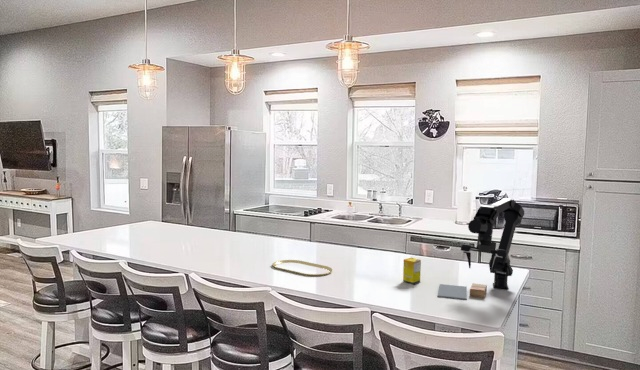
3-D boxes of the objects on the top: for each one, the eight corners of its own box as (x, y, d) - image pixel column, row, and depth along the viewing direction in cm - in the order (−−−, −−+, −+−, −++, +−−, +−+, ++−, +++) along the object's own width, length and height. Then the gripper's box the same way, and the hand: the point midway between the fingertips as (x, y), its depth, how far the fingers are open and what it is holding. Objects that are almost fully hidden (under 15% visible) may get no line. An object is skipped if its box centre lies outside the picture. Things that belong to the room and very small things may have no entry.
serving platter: (316, 279, 228) (316, 276, 228) (265, 267, 249) (265, 264, 249) (339, 271, 242) (339, 268, 242) (288, 261, 264) (288, 258, 264)
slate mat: (439, 285, 220) (439, 284, 220) (466, 287, 216) (466, 286, 216) (437, 296, 202) (437, 295, 202) (466, 299, 199) (466, 298, 199)
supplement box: (410, 279, 229) (411, 257, 228) (420, 282, 224) (421, 259, 223) (402, 281, 225) (403, 259, 224) (412, 284, 220) (413, 261, 219)
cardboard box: (472, 290, 213) (472, 282, 213) (486, 292, 210) (486, 284, 210) (469, 297, 204) (469, 288, 204) (484, 299, 201) (484, 290, 201)
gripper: (463, 231, 200) (458, 268, 199) (510, 238, 195) (505, 276, 194) (462, 231, 211) (458, 265, 210) (507, 237, 205) (502, 273, 205)
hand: (480, 270), depth 205 cm, fingers open, 9 cm apart
